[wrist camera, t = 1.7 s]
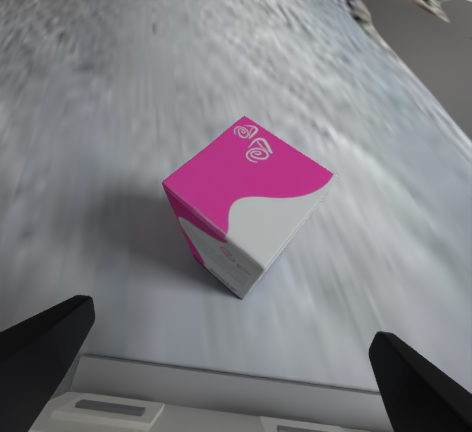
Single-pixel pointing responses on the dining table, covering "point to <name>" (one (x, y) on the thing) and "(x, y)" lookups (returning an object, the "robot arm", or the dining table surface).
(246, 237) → the supplement box
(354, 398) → the panel
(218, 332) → the dining table surface
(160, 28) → the dining table surface
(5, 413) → the robot arm
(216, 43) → the dining table surface
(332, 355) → the dining table surface
